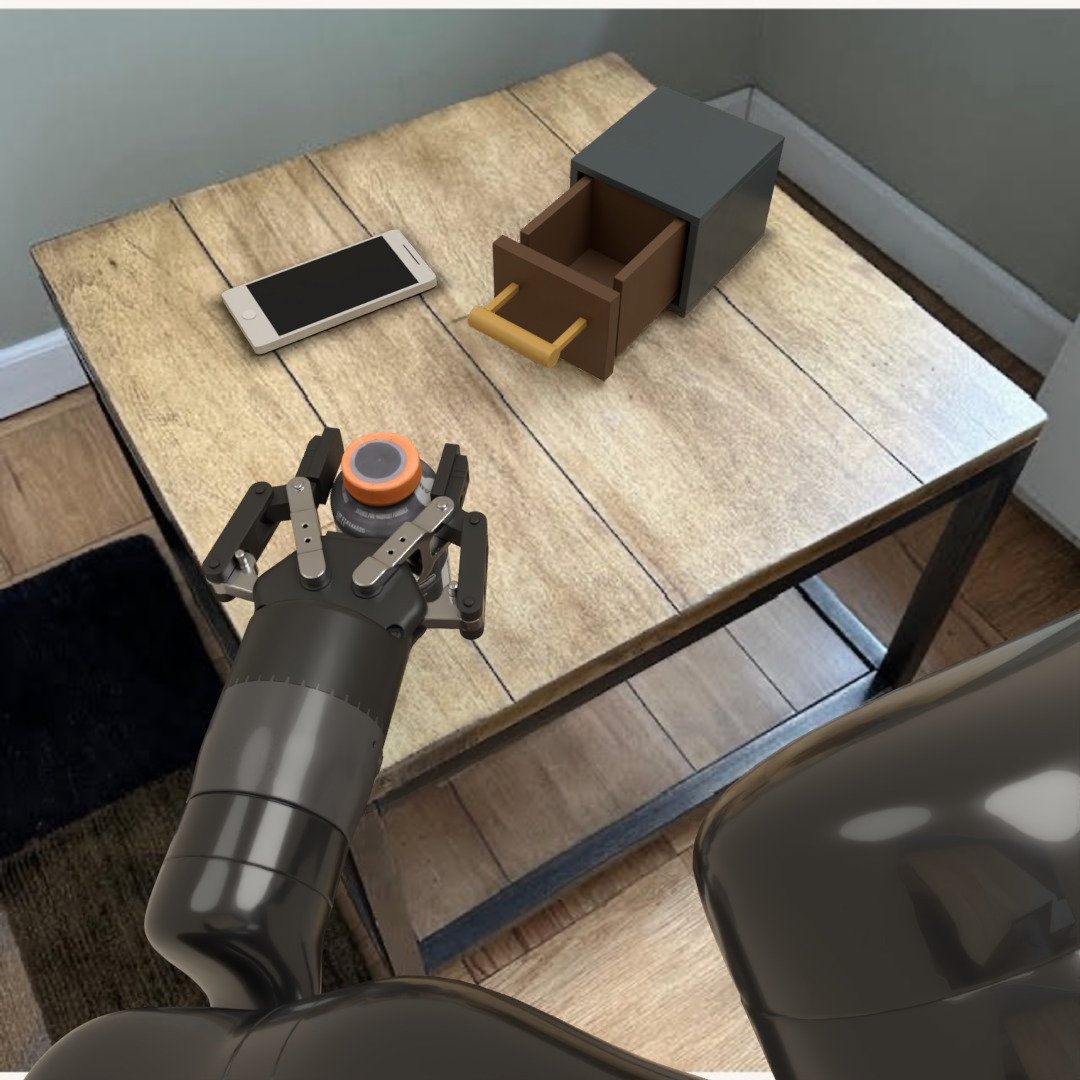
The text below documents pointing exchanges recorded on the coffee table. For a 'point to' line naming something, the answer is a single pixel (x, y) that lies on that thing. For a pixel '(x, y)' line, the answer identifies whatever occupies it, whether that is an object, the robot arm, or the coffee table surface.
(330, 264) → the smartphone
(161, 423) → the coffee table surface
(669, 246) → the drawer
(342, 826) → the robot arm
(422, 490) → the pill bottle
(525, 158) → the coffee table surface
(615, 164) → the cabinet
